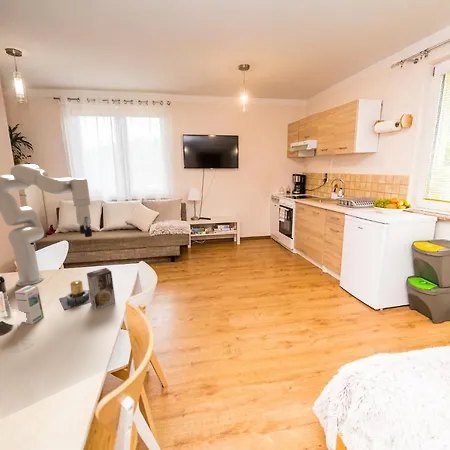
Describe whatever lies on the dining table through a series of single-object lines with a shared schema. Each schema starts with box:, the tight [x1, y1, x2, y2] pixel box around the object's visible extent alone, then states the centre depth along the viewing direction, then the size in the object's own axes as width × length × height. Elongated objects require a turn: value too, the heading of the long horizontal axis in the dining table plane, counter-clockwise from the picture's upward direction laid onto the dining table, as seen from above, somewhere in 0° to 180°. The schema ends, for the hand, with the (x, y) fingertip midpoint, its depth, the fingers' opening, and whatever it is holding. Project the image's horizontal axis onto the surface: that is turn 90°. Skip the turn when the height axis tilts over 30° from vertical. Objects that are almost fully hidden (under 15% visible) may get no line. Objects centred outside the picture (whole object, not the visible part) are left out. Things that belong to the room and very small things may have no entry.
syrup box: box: [14, 285, 45, 325], centre depth 113 cm, size 6×6×14 cm
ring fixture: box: [59, 289, 91, 311], centre depth 132 cm, size 14×14×3 cm
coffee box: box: [86, 267, 116, 311], centre depth 125 cm, size 9×6×16 cm
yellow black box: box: [69, 280, 84, 298], centre depth 131 cm, size 5×5×8 cm
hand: (86, 235), depth 142 cm, fingers open, 9 cm apart
